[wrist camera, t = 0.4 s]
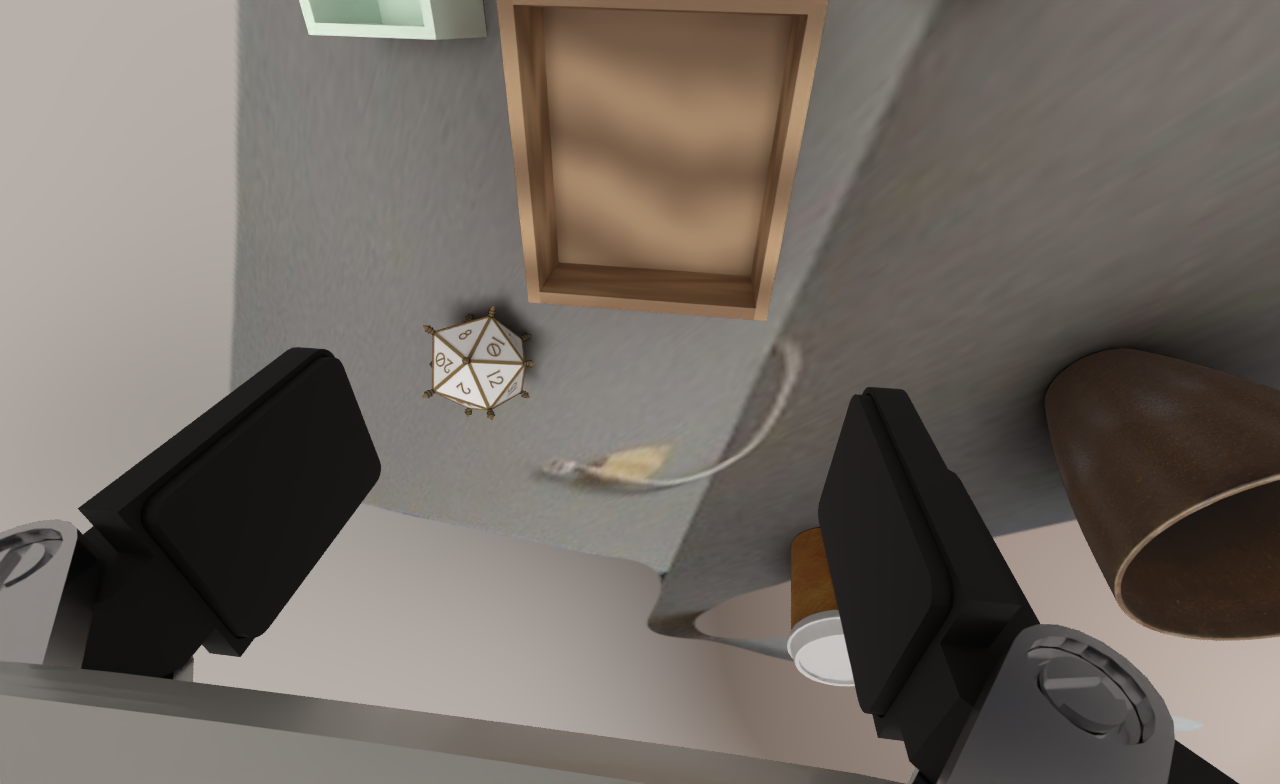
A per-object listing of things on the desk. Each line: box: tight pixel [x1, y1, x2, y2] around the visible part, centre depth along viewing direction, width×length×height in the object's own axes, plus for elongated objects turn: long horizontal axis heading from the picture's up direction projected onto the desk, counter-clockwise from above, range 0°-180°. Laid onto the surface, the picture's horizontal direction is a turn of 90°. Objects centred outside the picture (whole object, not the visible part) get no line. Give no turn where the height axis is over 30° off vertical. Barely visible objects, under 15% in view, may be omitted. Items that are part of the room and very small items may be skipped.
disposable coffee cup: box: [787, 528, 855, 686], centre depth 49 cm, size 10×10×12 cm
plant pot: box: [1045, 348, 1280, 640], centre depth 33 cm, size 15×15×16 cm
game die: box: [422, 305, 535, 420], centre depth 40 cm, size 9×8×10 cm
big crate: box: [497, 0, 829, 321], centre depth 31 cm, size 17×16×6 cm
